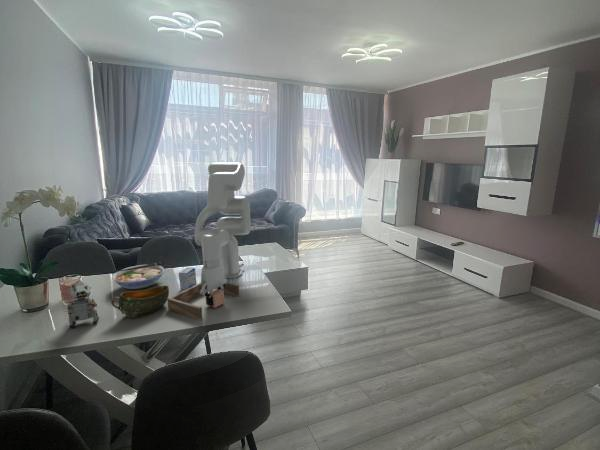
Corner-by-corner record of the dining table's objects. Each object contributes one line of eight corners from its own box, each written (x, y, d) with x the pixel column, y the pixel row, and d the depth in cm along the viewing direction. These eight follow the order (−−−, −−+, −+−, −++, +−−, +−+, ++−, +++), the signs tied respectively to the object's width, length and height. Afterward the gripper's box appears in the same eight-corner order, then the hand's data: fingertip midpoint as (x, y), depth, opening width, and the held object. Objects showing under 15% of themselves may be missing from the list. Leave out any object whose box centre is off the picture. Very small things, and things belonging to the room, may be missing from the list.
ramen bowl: (111, 301, 142) (109, 284, 140) (111, 283, 161) (109, 268, 159) (171, 289, 154) (169, 273, 152) (164, 274, 173) (162, 259, 171)
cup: (120, 307, 136) (117, 285, 134) (170, 301, 142) (168, 280, 139) (112, 323, 124) (109, 299, 122) (168, 315, 130) (166, 293, 127)
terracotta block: (215, 299, 141) (214, 288, 140) (224, 302, 139) (223, 290, 137) (205, 304, 137) (205, 292, 135) (215, 307, 134) (214, 295, 133)
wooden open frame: (209, 288, 155) (208, 278, 154) (239, 295, 147) (238, 285, 146) (168, 309, 134) (167, 298, 133) (200, 320, 126) (199, 308, 125)
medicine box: (188, 290, 153) (186, 273, 151) (179, 289, 154) (178, 272, 152) (196, 283, 161) (195, 267, 159) (188, 282, 162) (187, 266, 160)
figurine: (101, 312, 132) (96, 278, 128) (96, 326, 121) (90, 290, 118) (75, 317, 128) (69, 282, 125) (67, 331, 118) (60, 294, 115)
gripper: (219, 255, 142) (222, 292, 147) (190, 267, 128) (193, 308, 132) (233, 257, 139) (235, 296, 143) (204, 270, 124) (207, 312, 128)
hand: (215, 301), depth 137 cm, fingers closed on terracotta block, 5 cm apart
